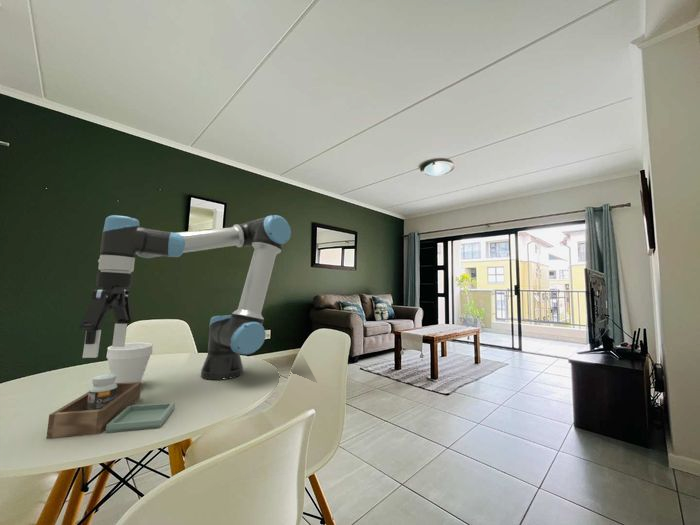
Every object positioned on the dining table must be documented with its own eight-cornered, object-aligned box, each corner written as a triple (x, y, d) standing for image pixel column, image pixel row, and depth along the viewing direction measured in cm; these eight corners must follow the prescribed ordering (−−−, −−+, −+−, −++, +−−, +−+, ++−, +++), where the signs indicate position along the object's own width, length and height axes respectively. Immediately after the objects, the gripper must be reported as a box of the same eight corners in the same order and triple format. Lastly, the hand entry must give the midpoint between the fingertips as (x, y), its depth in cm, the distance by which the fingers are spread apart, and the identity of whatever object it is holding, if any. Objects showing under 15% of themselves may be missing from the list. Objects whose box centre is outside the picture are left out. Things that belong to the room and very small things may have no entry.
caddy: (139, 398, 85) (141, 381, 86) (100, 433, 65) (103, 410, 66) (100, 401, 82) (102, 383, 83) (46, 438, 62) (49, 414, 63)
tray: (174, 409, 79) (174, 402, 79) (159, 427, 68) (160, 420, 69) (128, 412, 76) (128, 405, 76) (105, 432, 65) (106, 424, 66)
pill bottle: (97, 422, 70) (101, 381, 71) (79, 419, 72) (84, 378, 72) (120, 412, 76) (123, 374, 77) (102, 409, 77) (107, 372, 78)
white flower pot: (136, 393, 89) (140, 349, 90) (92, 395, 87) (97, 349, 88) (156, 381, 101) (160, 342, 102) (118, 382, 99) (122, 342, 100)
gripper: (122, 273, 88) (113, 343, 86) (68, 268, 64) (54, 363, 62) (149, 275, 90) (141, 342, 88) (107, 270, 66) (95, 362, 64)
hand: (105, 351), depth 75 cm, fingers open, 13 cm apart
